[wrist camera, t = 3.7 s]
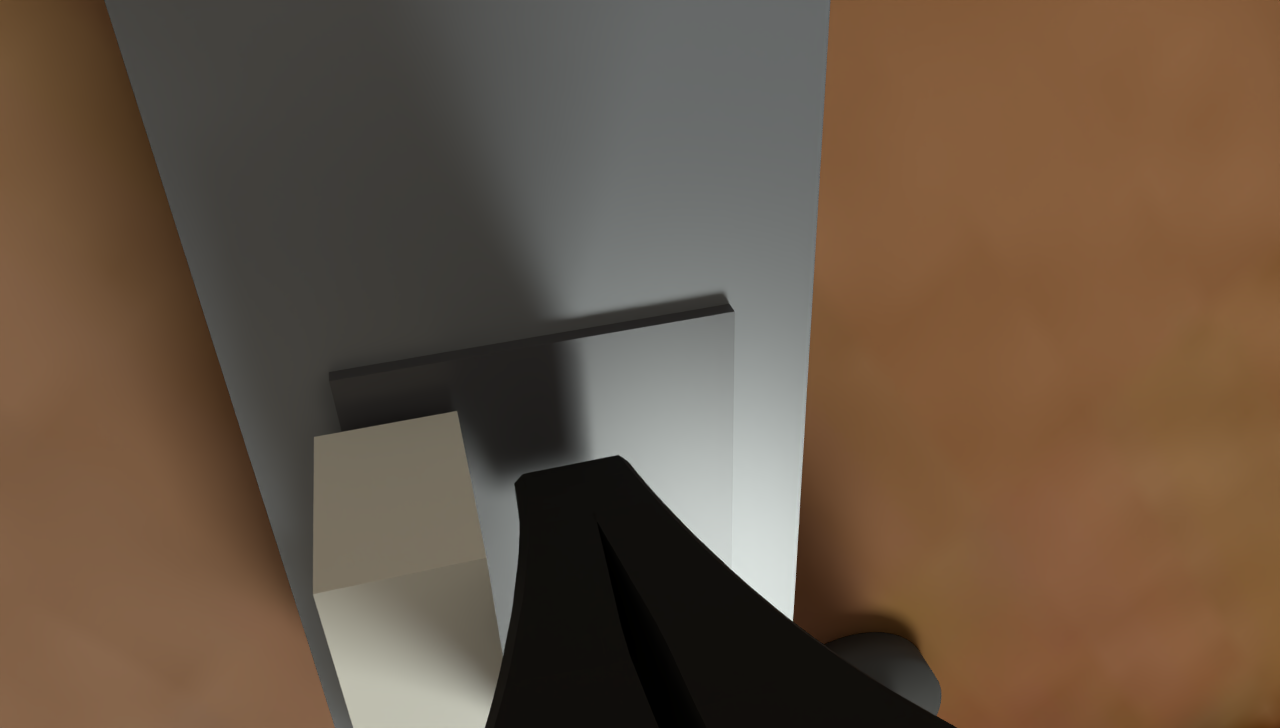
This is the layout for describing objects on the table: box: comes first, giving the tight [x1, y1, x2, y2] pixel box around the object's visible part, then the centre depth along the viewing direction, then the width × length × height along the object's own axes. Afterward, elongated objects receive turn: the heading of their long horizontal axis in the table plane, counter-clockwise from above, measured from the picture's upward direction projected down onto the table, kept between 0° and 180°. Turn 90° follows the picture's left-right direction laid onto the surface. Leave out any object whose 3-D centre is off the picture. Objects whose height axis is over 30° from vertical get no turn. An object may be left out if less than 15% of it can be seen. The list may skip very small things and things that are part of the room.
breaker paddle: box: [313, 411, 503, 728], centre depth 11 cm, size 2×3×2 cm, turn 3°
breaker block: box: [104, 0, 830, 728], centre depth 13 cm, size 7×14×6 cm, turn 2°
